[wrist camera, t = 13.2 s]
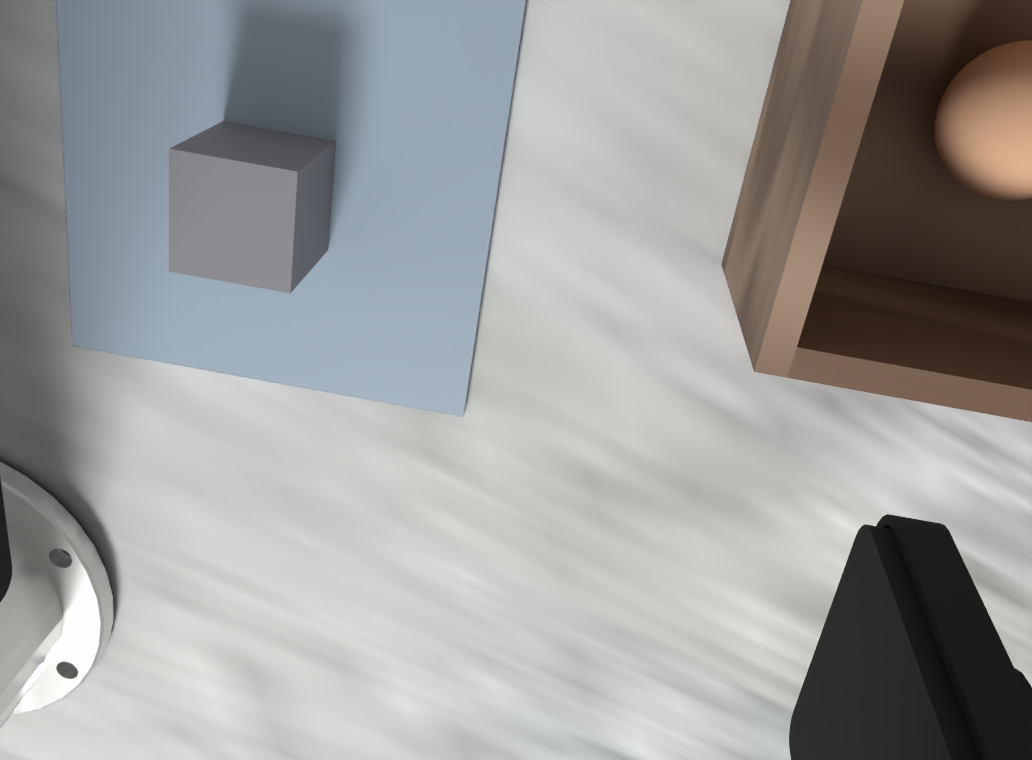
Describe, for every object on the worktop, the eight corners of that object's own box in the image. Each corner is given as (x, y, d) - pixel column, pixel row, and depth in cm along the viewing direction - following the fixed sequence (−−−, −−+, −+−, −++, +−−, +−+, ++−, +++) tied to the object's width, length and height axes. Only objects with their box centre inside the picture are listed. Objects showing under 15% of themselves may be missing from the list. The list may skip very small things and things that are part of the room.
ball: (1035, 191, 28) (1097, 232, 24) (896, 167, 28) (938, 203, 24) (1093, 46, 26) (1169, 66, 23) (945, 20, 26) (997, 36, 23)
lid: (467, 404, 34) (444, 477, 30) (86, 334, 34) (6, 397, 30) (529, -9, 28) (513, 4, 24) (69, -90, 28) (-33, -92, 24)
